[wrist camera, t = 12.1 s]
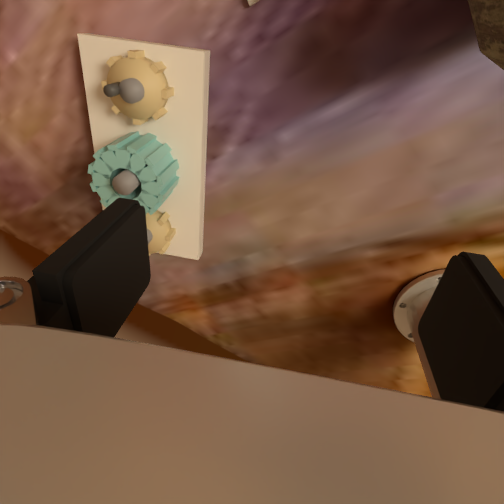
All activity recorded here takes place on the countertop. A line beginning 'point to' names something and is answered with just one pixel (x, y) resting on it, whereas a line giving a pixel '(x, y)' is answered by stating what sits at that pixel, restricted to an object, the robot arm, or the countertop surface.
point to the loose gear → (135, 170)
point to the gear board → (154, 124)
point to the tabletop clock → (489, 28)
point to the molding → (252, 2)
